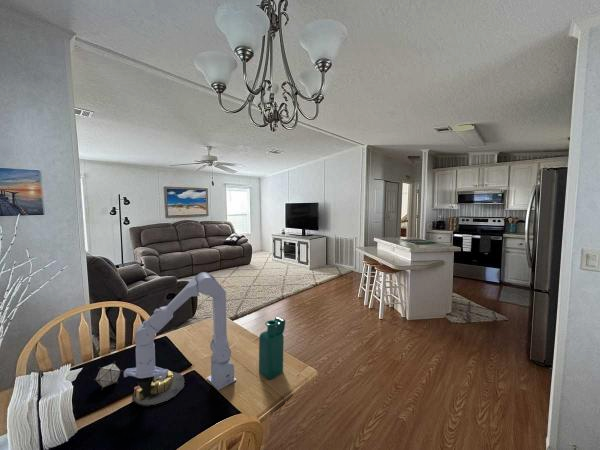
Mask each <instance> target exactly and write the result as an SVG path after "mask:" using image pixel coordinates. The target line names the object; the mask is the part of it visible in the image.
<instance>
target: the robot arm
mask: <svg viewBox="0 0 600 450" xmlns="http://www.w3.org/2000/svg"><path fill="white" fill-rule="evenodd" d="M226 292H227V291H226V290H225V289H224V288H223V286H222V285H221V284H220V283H219V281H218V280H217V279H216V278H215V277H214V276H213V275H212V274H210V273H208V272H206V271H205V272H204V271H203V272H202V271H201V272H199V273H198V274H197V275H196V276H195V277H193V278H192V279H191V280H190V281H189V282H188V283H187V284H186V285H185V286H184V288H182V290H181V291H179V293H177V295H176V296H175V297H174V298H172V300H171V301H170V302H169V303H168V304H167V305H164V306H160V307H159V308H155V310H153V314H152V315H150V317H149V318H148V319H146V320H144V321H143V322H142V323H140V324H139V325H138V326H137V328H136V329H135V331H134V333H135V334H134V341H135V367H130V368H126V369H125V370H123V378H127V377H134V378H137V380H136V384H137V386H138V385H139V386H140V387H141V389H142V391H143V397H147V396H148V395H149V394H150V386H151V383H152V381H153V378H154V376H156V377H162V378H165V377H166V376H167V375H168V370H169V369H168V368H162V367H159V366H156V348H155V347H156V346H155V342H154V341H155V338H156V334H157V333H159V332H160V331H161V330H162V329H163V328H164V327H165V326H166V325H167V324H168V323H169V322H170V321H171V320H172V319H173V318H174V313H175V312H176V311H177V310H178V309H179V308H180V307H181V306H182V305H183V304H185V303H186V302H187V301H188V300H189V299H190V298H191V297H200V296H201V295H205V296H209V297H211V298H212V314H213V316H212V319H213V324H212V325H213V326H212V327H213V334H212V339H211V342H210V345H209V347H210V350H211V351H212V355H211V356H210V375H209V376H207V377H206V380H207V381H208V382H210V383H211V384H212V385H213V387H215V389H217V390H218V391H220V390H222V389H223V388H225V387H227V386H229V385H230V384H232V383H234V382H236V381H237V378H236V377H235V365H234V363H232V361H231V355H232V351H231V348H230V347H229V346H230V345H229V339H228V335H227V334H228V333H227V332H228V331H227V293H226ZM200 294H201V295H200Z"/></svg>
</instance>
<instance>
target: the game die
mask: <svg viewBox="0 0 600 450" xmlns="http://www.w3.org/2000/svg"><path fill="white" fill-rule="evenodd" d="M98 369H99V371H98V372H97V376H96V377H95V378H94V379H93V381H96V382H97V383H98V385H99V386H100V387H101V391H103V390H104V388H105V387H108V386H110V385H113V384H119V381H118V379H119V377H120V374H121V373H122V372H124V369H120V368H119V366H117V365H116V360H114V361H113V362H112V363H110V364H107V365H105V366H103V367H100V366H98Z"/></svg>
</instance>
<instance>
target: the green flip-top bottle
mask: <svg viewBox="0 0 600 450" xmlns="http://www.w3.org/2000/svg"><path fill="white" fill-rule="evenodd" d="M265 326H266V327H267V329H266V330H265V331H263V332H261V333H260V335H259V336H258V372H259V374H260V375H262V376H263V377H264V378H265V379H267V380H273V379H275V378H276V377H278V376H280V375H282V374H283V372H284V349H285V348H284V347H285V346H284V343H285V341H284V338H285V336H284V331H285V328H286V327H285V326H286V320H285V319H283V318H282V317H279V316H275V317H274V319H273V320H272V319H270V320H267V321H266V322H265Z"/></svg>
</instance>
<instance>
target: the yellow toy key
mask: <svg viewBox="0 0 600 450" xmlns="http://www.w3.org/2000/svg"><path fill="white" fill-rule="evenodd" d="M172 372H173V371H171V370H169V369H168V375H167V376H166V379H165V380H164V381H162V382H160V381H156V383H154V378H153V381H152V383H151V386H150V393H151V394H157V393H161V392H164V391H166V390H167V389H169V388H170V387H171V385H172V384H173V373H172ZM142 398H144V397H143V391H142V389H141V387H140V388H139V389H137V390H136V399H138V400H141V399H142Z"/></svg>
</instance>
